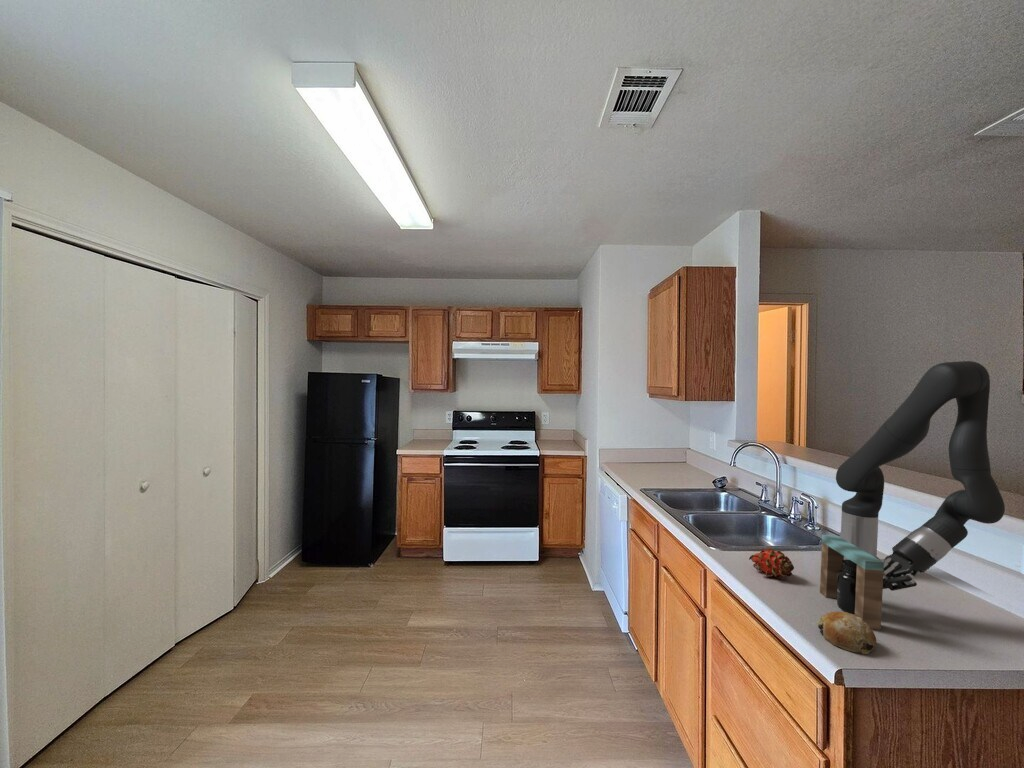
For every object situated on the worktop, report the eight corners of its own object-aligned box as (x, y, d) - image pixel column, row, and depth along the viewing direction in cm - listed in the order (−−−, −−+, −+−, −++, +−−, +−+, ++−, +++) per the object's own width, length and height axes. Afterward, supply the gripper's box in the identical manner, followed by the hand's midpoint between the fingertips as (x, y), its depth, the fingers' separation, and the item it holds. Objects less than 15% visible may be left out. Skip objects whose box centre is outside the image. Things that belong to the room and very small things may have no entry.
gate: (819, 592, 124) (822, 534, 124) (835, 593, 124) (837, 535, 123) (862, 628, 106) (865, 560, 106) (880, 629, 106) (883, 562, 106)
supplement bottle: (830, 603, 118) (829, 558, 118) (854, 601, 118) (853, 556, 118) (852, 617, 111) (852, 569, 111) (877, 615, 112) (877, 567, 111)
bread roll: (846, 670, 96) (866, 646, 93) (804, 627, 104) (820, 603, 101) (873, 660, 100) (893, 636, 97) (830, 619, 108) (847, 596, 105)
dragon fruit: (796, 589, 129) (751, 581, 137) (800, 565, 134) (756, 558, 143) (788, 569, 126) (743, 562, 134) (792, 545, 131) (748, 540, 140)
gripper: (891, 528, 120) (839, 570, 121) (931, 547, 106) (872, 594, 108) (912, 550, 119) (860, 592, 121) (955, 571, 106) (896, 618, 108)
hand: (866, 592), depth 114 cm, fingers closed
